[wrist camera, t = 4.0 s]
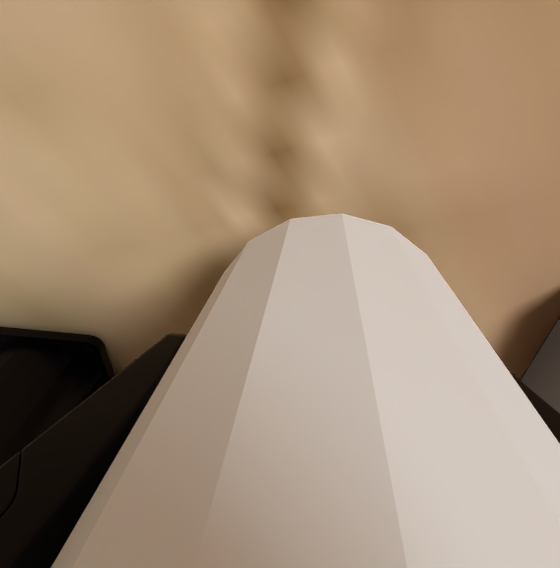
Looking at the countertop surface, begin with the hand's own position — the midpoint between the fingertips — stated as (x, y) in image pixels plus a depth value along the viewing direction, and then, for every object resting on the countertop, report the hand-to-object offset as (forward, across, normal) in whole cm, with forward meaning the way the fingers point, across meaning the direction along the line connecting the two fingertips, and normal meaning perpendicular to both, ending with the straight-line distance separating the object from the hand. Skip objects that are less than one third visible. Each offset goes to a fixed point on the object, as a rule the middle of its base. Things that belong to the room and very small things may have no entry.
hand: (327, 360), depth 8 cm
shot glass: (+2, 0, 0) cm, 2 cm away
